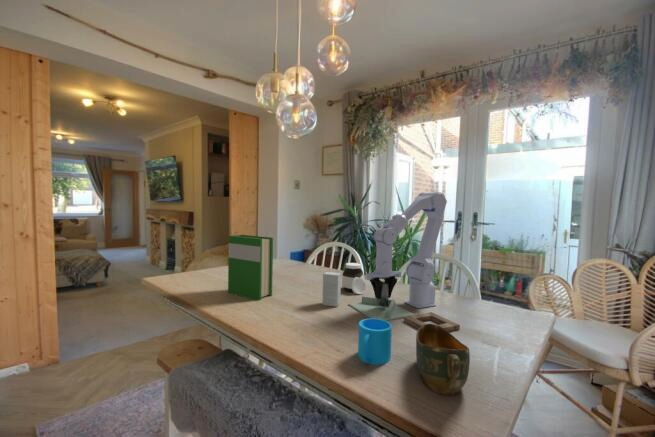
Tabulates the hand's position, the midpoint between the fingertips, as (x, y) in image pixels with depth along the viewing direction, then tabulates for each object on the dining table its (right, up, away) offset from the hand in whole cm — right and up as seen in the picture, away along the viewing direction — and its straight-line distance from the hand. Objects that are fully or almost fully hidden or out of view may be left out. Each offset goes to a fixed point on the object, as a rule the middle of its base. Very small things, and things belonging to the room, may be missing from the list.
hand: (382, 297), depth 111 cm
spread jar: (-8, -4, +24) cm, 26 cm away
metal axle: (0, -2, 0) cm, 2 cm away
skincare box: (-19, -4, +5) cm, 20 cm away
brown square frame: (+13, -5, -14) cm, 19 cm away
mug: (-9, -6, -36) cm, 38 cm away
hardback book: (-53, -3, +15) cm, 55 cm away
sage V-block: (-1, -4, 0) cm, 5 cm away
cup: (+4, -7, -44) cm, 45 cm away
